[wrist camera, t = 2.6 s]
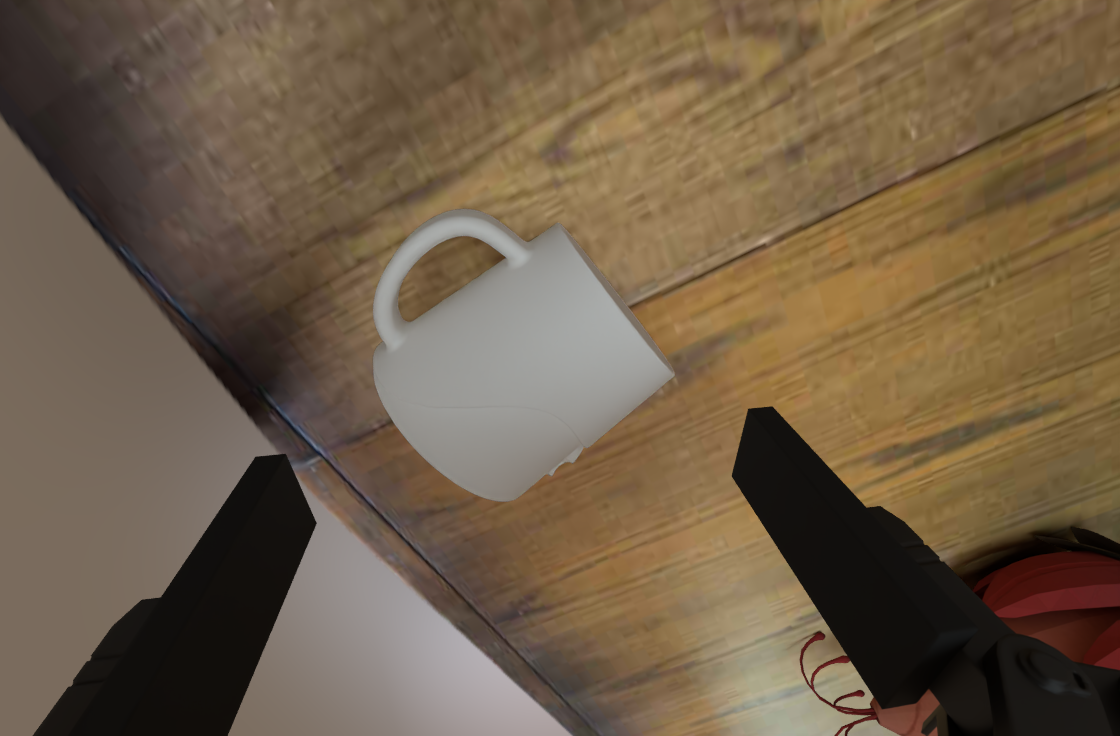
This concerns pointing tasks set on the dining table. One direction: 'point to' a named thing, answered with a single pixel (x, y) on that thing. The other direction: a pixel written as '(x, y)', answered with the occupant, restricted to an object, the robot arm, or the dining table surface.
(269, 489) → the robot arm
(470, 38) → the dining table surface
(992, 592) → the decorative flower
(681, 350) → the dining table surface
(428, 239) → the mug
